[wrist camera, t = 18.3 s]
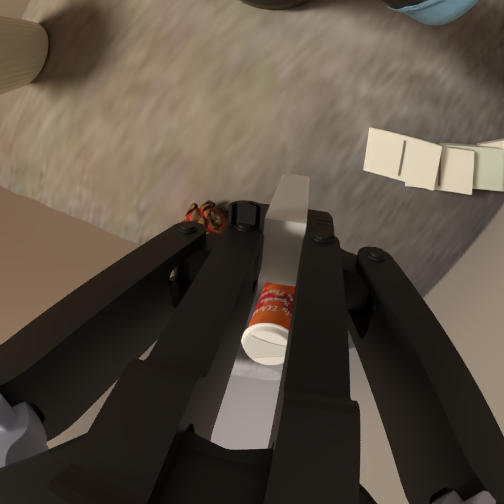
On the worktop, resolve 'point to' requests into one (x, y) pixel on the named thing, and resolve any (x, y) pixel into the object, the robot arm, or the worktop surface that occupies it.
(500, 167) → the domino
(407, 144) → the domino
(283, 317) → the paper cup
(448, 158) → the domino
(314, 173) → the worktop surface
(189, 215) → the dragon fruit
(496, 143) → the domino
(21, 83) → the canister
